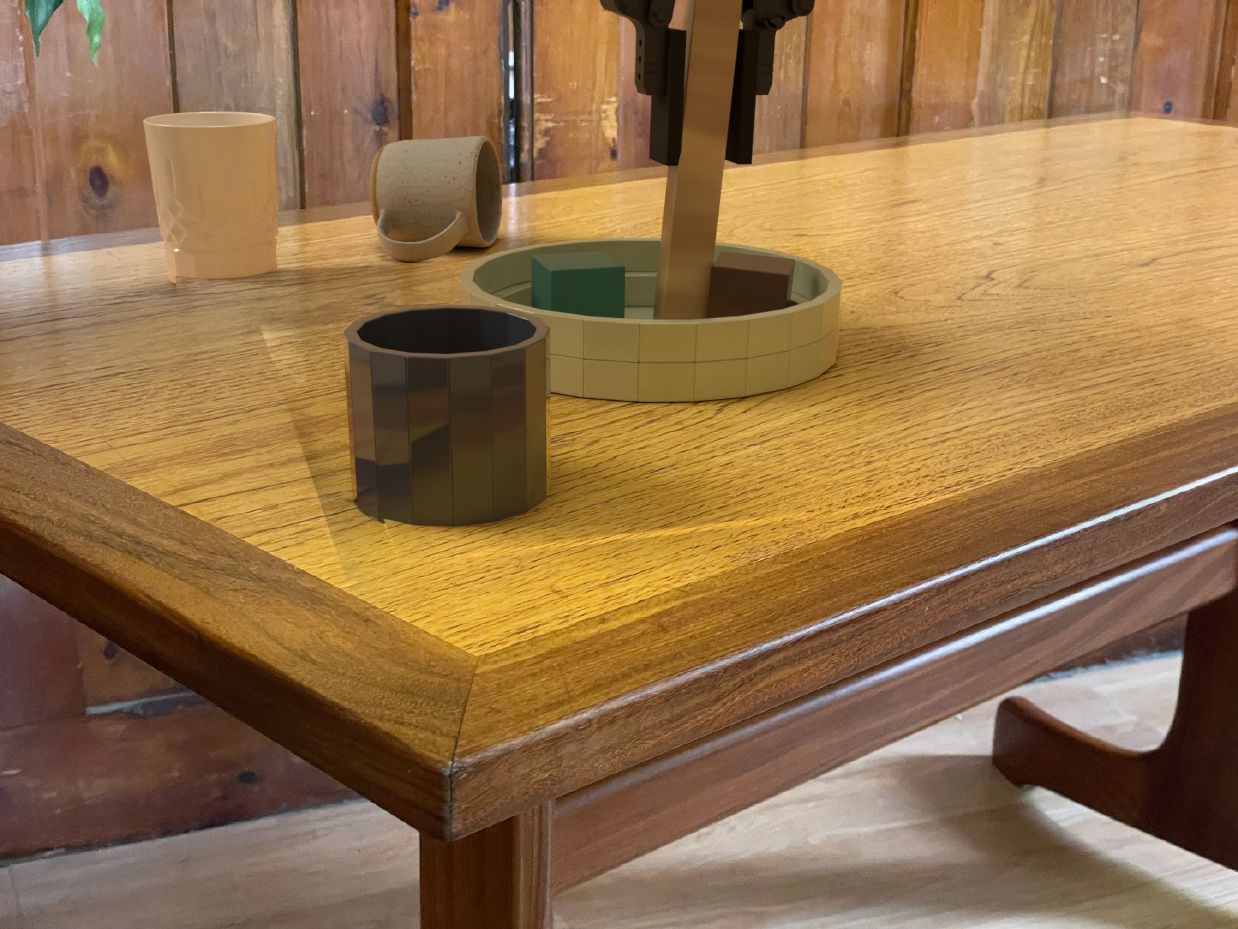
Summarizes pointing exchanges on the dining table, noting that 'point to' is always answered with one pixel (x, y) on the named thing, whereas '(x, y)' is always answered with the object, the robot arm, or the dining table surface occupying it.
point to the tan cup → (215, 192)
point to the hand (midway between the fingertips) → (700, 160)
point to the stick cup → (448, 414)
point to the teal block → (578, 284)
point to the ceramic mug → (435, 196)
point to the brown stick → (698, 161)
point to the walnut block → (749, 284)
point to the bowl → (669, 329)
